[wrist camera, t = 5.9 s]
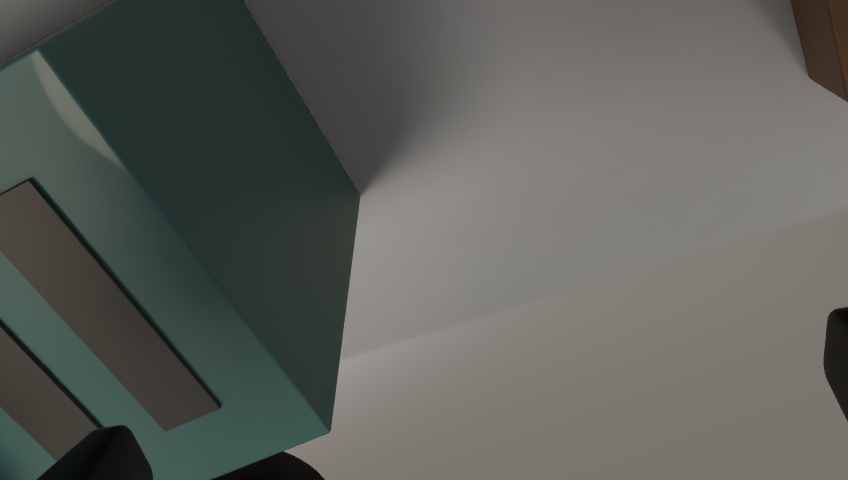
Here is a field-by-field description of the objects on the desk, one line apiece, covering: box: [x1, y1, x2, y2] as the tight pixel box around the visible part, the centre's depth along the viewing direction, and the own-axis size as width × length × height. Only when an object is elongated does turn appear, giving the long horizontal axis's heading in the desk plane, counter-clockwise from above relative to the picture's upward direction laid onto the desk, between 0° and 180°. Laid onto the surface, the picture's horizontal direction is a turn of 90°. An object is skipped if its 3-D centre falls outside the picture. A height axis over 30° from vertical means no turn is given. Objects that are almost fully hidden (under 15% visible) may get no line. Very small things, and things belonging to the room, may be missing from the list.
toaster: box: [0, 0, 360, 480], centre depth 17 cm, size 8×10×10 cm
